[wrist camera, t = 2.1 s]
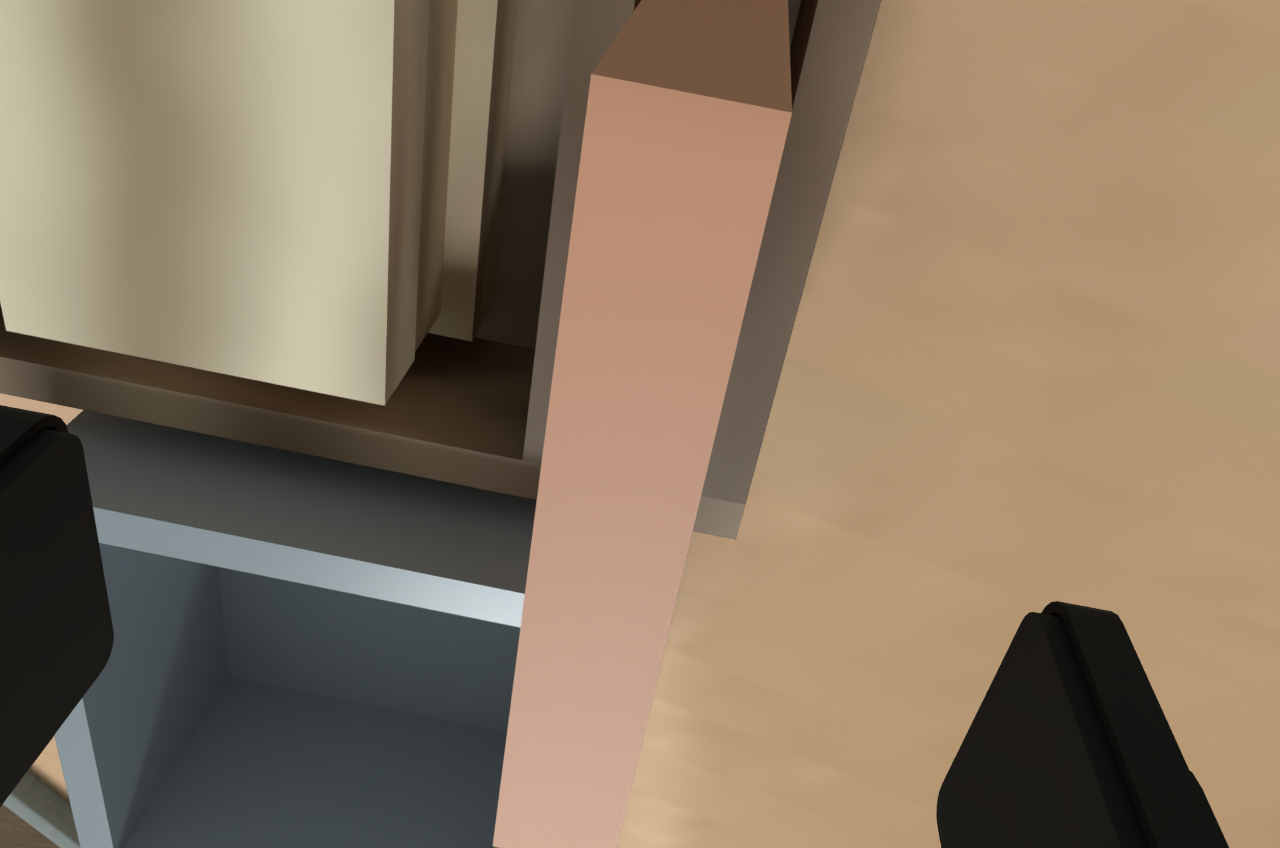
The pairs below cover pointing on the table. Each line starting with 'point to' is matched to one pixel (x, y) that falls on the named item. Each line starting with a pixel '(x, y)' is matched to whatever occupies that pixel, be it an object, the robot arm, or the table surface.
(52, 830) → the grey flat rectangular tray
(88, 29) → the offcut stack
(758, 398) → the brown wooden crate
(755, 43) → the block
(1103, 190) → the table surface
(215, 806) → the bin
